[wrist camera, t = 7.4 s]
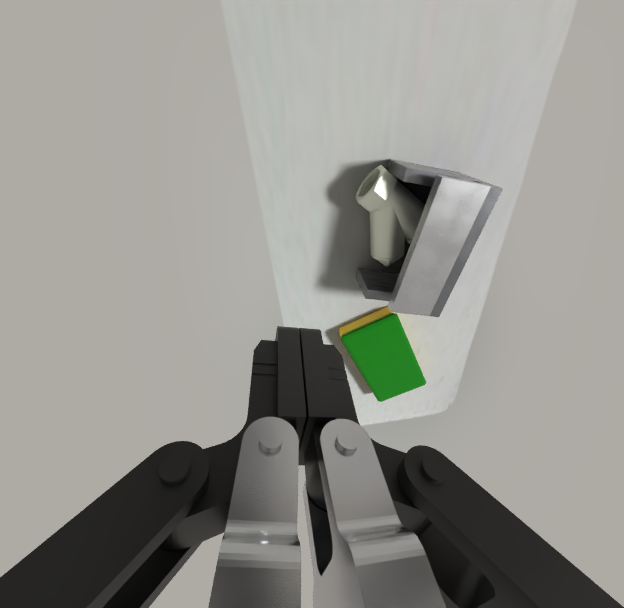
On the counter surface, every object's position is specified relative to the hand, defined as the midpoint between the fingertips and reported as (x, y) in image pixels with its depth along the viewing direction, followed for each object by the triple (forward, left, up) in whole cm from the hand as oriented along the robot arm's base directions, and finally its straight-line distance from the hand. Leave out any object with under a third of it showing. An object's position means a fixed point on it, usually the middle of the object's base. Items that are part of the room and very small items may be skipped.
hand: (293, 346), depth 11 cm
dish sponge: (+18, +15, -21) cm, 32 cm away
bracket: (+1, +12, -21) cm, 24 cm away
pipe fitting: (0, +10, -21) cm, 23 cm away
